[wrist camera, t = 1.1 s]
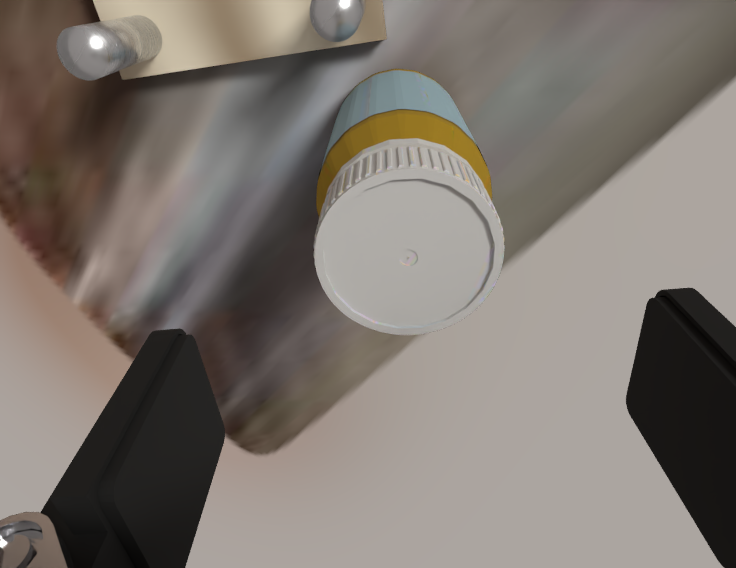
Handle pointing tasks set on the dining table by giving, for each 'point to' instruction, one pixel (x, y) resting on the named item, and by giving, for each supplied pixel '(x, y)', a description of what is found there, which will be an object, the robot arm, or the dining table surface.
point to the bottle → (405, 209)
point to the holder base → (231, 31)
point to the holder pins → (144, 41)
